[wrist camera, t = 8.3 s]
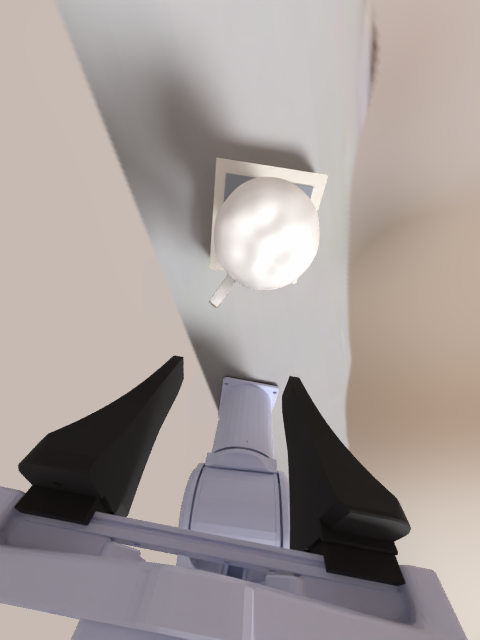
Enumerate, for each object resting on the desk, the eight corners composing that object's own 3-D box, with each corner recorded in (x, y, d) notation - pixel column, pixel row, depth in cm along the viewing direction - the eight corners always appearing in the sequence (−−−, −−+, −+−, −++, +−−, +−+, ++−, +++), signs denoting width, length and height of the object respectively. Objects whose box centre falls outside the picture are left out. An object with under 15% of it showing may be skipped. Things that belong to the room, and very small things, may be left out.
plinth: (292, 275, 20) (296, 283, 17) (215, 262, 20) (209, 269, 18) (319, 180, 16) (328, 174, 13) (222, 165, 16) (216, 156, 14)
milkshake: (218, 238, 16) (166, 267, 7) (264, 179, 14) (267, 122, 5) (256, 275, 17) (251, 337, 9) (305, 226, 15) (363, 244, 6)
